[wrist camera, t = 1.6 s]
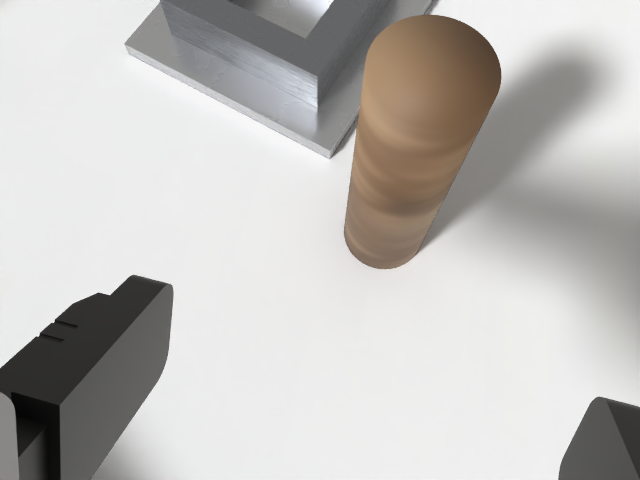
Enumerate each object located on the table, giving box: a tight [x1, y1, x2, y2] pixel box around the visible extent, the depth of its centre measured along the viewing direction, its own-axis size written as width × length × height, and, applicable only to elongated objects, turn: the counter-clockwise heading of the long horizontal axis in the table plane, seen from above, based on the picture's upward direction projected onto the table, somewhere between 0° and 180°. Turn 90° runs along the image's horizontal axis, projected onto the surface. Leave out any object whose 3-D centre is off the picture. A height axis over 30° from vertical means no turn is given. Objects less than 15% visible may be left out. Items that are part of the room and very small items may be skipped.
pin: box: [344, 15, 501, 269], centre depth 21 cm, size 4×4×12 cm
